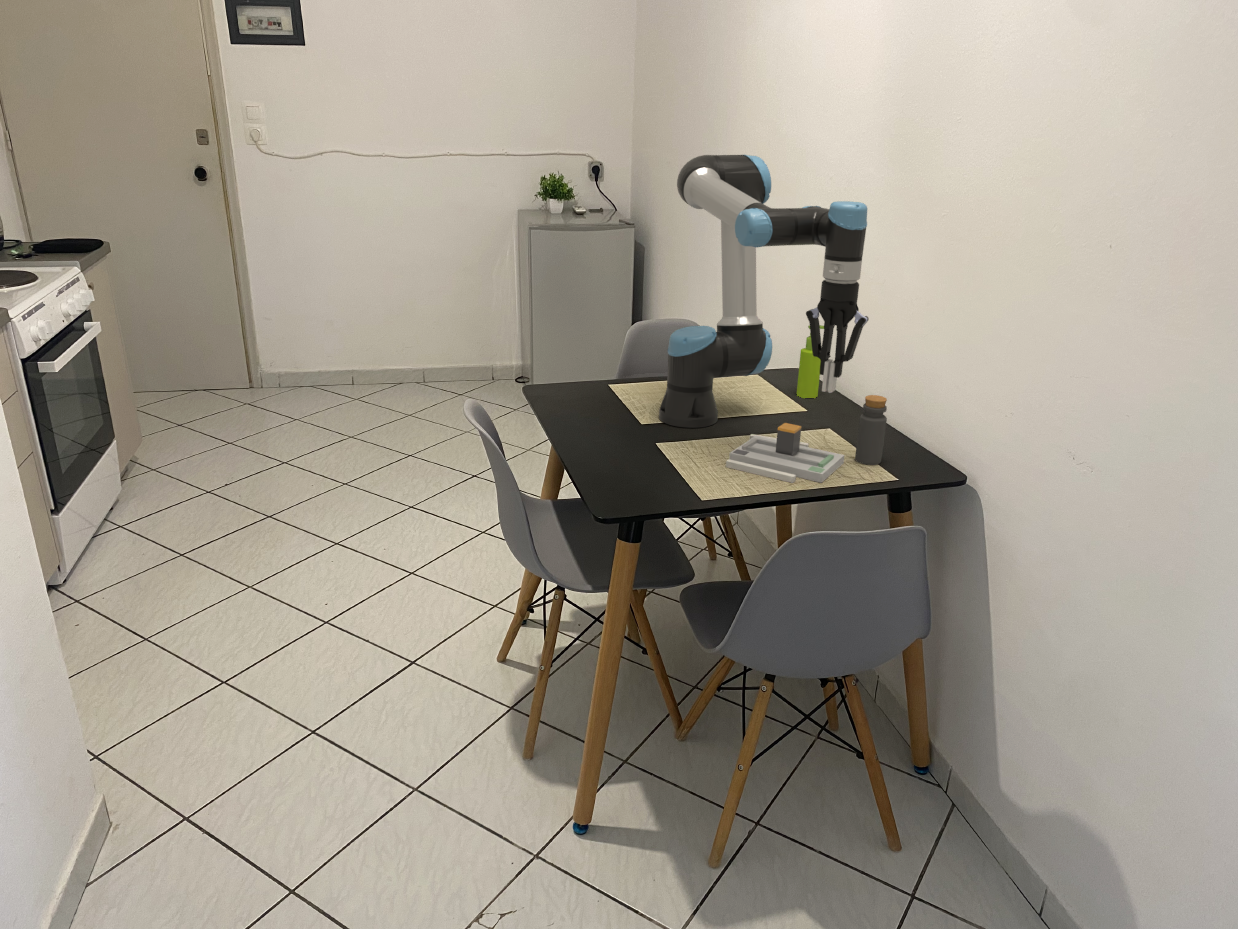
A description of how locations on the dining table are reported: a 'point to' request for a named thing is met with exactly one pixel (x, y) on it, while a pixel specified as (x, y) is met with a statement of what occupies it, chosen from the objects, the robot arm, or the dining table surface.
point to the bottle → (871, 431)
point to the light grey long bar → (761, 471)
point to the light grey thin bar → (776, 439)
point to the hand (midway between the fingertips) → (828, 390)
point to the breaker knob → (788, 439)
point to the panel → (788, 459)
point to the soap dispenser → (808, 371)
